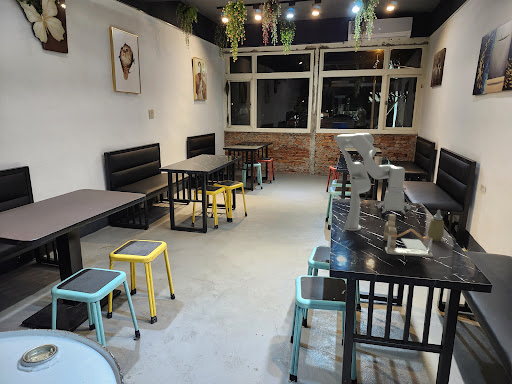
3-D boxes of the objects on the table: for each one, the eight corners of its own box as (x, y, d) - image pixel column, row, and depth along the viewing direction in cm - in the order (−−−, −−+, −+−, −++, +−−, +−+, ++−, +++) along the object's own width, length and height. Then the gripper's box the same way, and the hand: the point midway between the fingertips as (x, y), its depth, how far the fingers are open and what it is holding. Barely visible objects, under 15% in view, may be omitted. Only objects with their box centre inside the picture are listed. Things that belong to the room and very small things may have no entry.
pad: (401, 239, 189) (401, 238, 189) (419, 240, 187) (419, 239, 187) (407, 249, 176) (407, 248, 175) (427, 250, 174) (427, 249, 174)
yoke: (383, 239, 189) (386, 211, 185) (390, 239, 189) (393, 212, 185) (387, 246, 179) (390, 218, 175) (395, 247, 178) (398, 218, 174)
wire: (384, 249, 176) (387, 225, 172) (428, 252, 172) (432, 228, 169) (387, 253, 170) (389, 229, 167) (432, 257, 166) (436, 232, 163)
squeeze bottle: (434, 243, 184) (438, 212, 179) (423, 238, 191) (427, 208, 187) (445, 241, 186) (450, 211, 181) (434, 236, 193) (439, 207, 189)
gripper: (410, 188, 178) (407, 218, 182) (377, 187, 181) (374, 217, 185) (414, 191, 171) (410, 222, 175) (379, 190, 174) (377, 221, 178)
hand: (392, 219), depth 180 cm, fingers open, 9 cm apart
